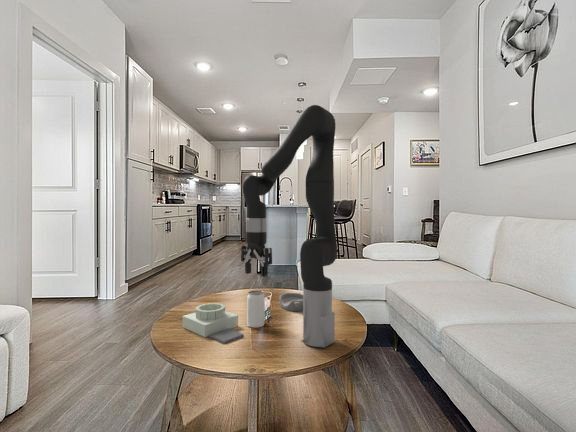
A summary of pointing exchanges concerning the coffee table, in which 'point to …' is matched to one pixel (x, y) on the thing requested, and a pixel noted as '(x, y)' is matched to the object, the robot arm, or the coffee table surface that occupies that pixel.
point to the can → (255, 309)
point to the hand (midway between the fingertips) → (256, 274)
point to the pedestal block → (210, 319)
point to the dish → (291, 301)
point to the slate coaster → (226, 335)
